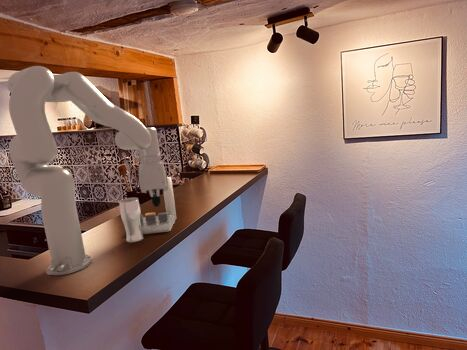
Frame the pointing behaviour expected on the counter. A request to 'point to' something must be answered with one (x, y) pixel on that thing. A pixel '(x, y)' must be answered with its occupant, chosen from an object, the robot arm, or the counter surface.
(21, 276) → the counter surface
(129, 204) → the beer glass
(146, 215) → the paddle mid
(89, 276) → the counter surface
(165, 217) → the grey rectangular box
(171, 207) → the post
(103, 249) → the counter surface
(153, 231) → the breaker panel
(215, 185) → the counter surface
